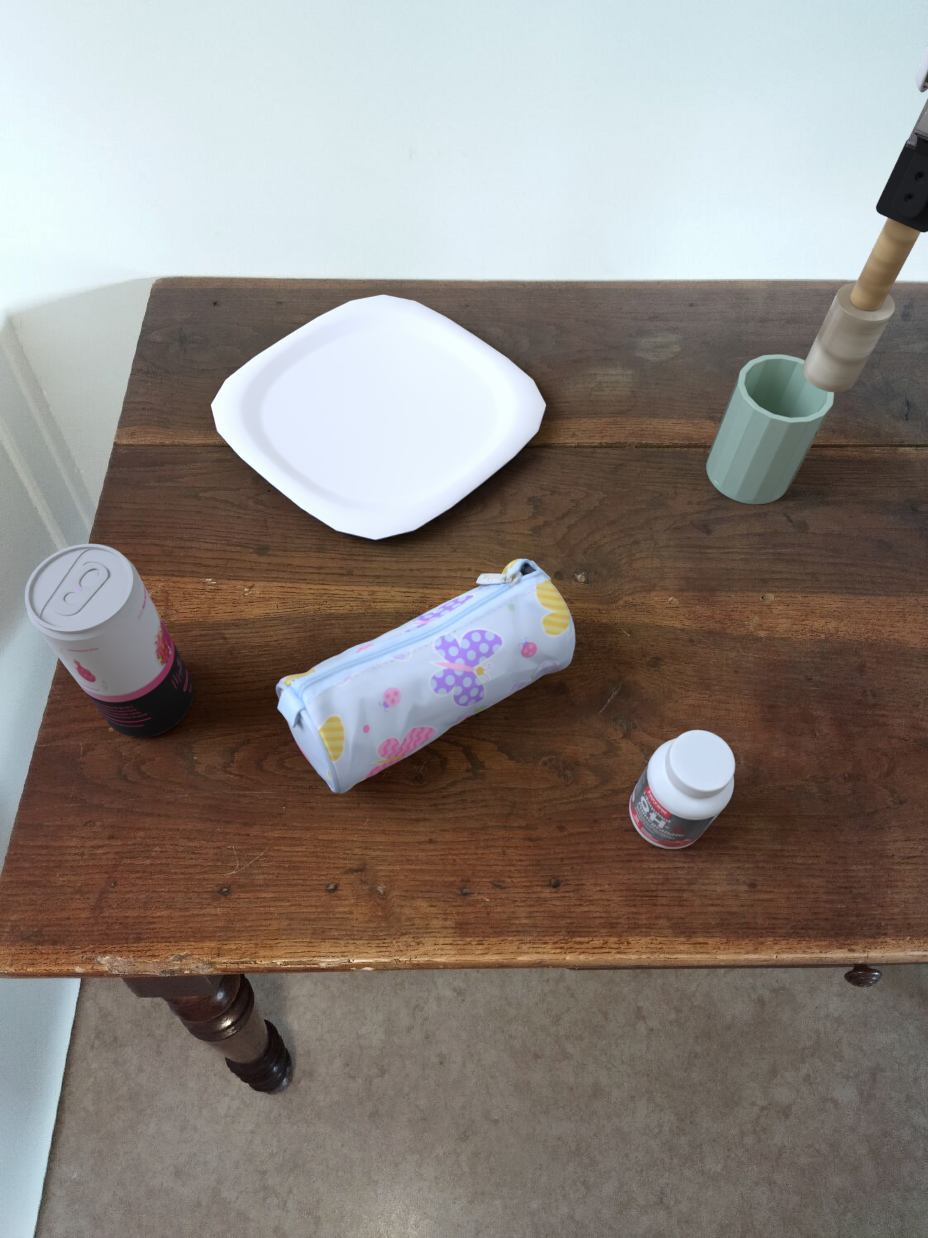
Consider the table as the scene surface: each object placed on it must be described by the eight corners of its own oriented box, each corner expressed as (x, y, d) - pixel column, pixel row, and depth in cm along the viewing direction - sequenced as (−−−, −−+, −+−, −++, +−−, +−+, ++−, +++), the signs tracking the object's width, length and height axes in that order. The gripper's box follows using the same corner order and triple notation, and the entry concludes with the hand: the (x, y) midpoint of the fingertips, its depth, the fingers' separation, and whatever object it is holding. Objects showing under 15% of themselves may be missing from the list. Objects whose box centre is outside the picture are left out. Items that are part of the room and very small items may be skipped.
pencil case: (513, 596, 70) (523, 523, 62) (579, 678, 67) (599, 612, 59) (276, 725, 64) (253, 662, 56) (334, 824, 60) (318, 771, 52)
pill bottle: (617, 831, 61) (646, 779, 52) (641, 764, 63) (673, 704, 55) (692, 864, 59) (734, 816, 51) (714, 795, 62) (758, 738, 54)
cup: (805, 467, 78) (850, 383, 70) (764, 518, 75) (806, 436, 67) (732, 427, 81) (767, 341, 72) (690, 475, 77) (721, 390, 69)
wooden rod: (864, 371, 60) (1012, 103, 45) (841, 400, 59) (985, 133, 43) (817, 347, 61) (945, 77, 46) (793, 375, 60) (916, 106, 45)
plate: (576, 416, 81) (579, 402, 79) (375, 580, 71) (374, 568, 69) (384, 286, 89) (383, 272, 88) (181, 416, 79) (176, 402, 78)
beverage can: (213, 682, 66) (159, 567, 53) (158, 755, 63) (86, 651, 50) (142, 646, 67) (72, 525, 54) (85, 715, 64) (-3, 605, 51)
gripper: (1177, -144, 29) (918, 310, 45) (1290, -261, 36) (1030, 169, 52) (962, -203, 32) (786, 248, 47) (1106, -303, 38) (910, 121, 54)
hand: (915, 204), depth 49 cm, fingers closed on wooden rod, 2 cm apart
